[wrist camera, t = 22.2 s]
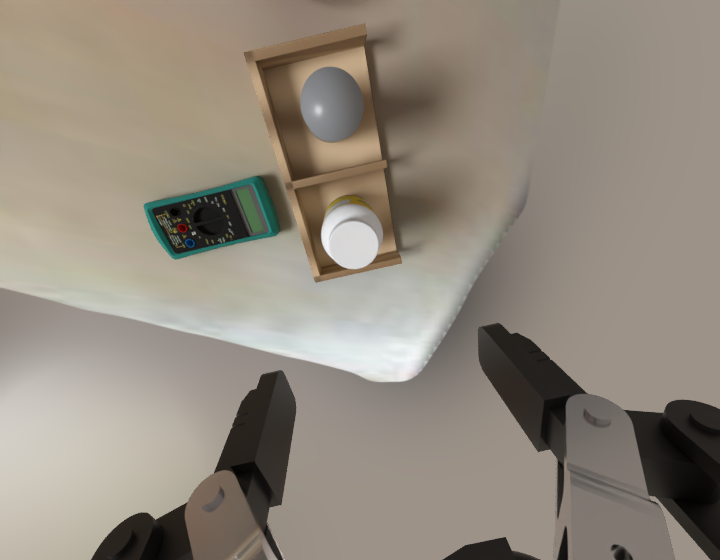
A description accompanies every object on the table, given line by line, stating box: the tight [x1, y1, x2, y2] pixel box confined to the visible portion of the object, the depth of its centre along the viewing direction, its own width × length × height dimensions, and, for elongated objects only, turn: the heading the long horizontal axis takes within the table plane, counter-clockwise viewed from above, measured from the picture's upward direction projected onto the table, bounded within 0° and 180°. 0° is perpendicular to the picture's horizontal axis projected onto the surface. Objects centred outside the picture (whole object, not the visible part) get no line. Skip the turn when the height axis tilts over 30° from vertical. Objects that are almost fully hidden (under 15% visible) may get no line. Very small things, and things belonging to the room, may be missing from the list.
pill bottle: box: [321, 195, 383, 269], centre depth 30 cm, size 6×6×12 cm
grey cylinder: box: [300, 67, 364, 143], centre depth 26 cm, size 5×5×10 cm
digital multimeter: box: [144, 176, 280, 259], centre depth 34 cm, size 7×15×3 cm, turn 102°
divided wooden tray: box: [244, 24, 402, 282], centre depth 32 cm, size 24×12×4 cm, turn 12°
